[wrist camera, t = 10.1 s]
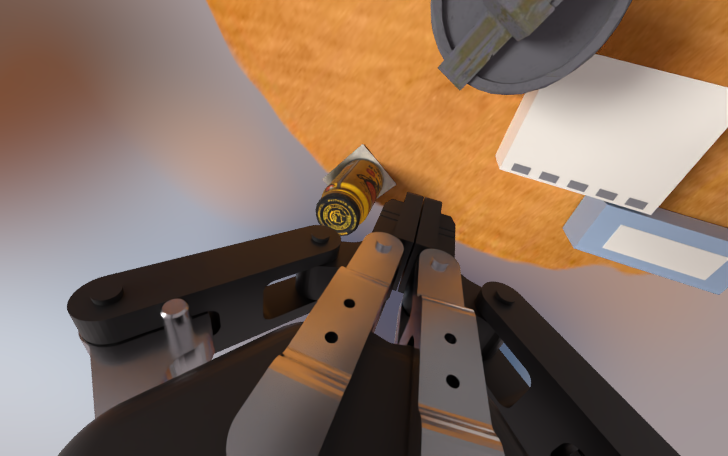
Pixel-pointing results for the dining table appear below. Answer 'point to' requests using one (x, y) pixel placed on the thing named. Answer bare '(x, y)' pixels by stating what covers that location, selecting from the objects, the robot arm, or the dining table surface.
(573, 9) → the canister
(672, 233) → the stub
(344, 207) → the condiment
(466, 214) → the dining table surface
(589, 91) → the white box
